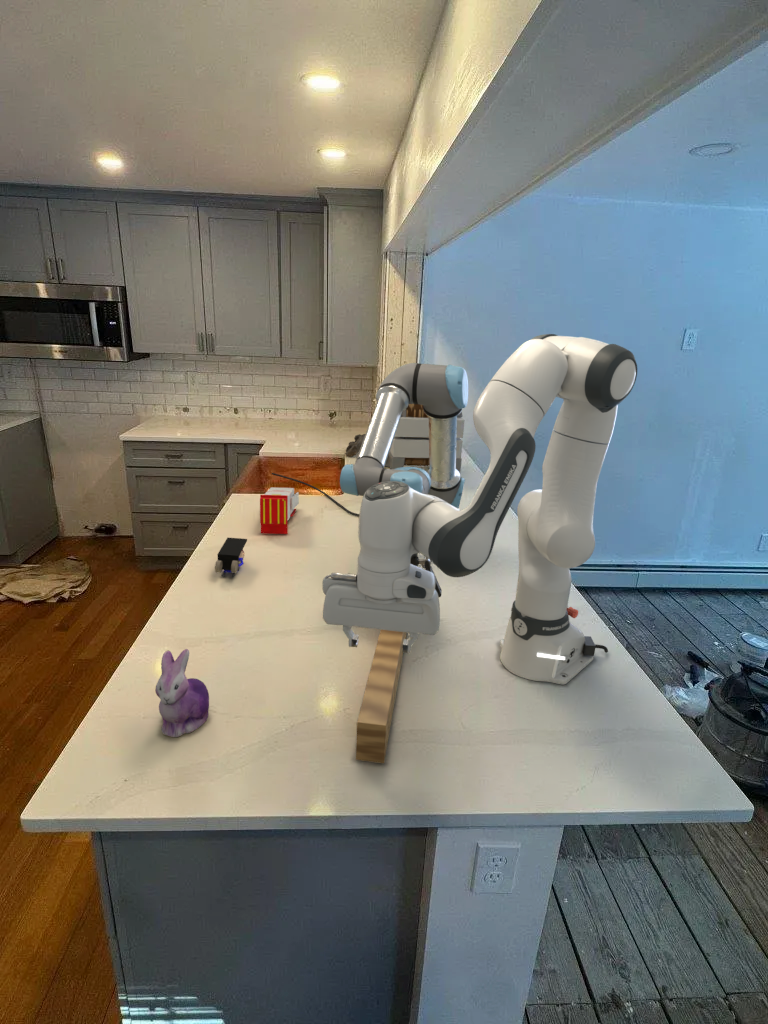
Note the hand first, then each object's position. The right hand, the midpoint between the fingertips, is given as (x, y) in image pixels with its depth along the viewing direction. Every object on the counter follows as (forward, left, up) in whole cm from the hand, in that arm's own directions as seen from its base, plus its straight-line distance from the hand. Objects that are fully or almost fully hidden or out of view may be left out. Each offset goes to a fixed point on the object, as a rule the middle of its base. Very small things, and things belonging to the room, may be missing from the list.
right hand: (379, 648), depth 100 cm
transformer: (-117, -137, -18) cm, 181 cm away
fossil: (-111, -184, -18) cm, 215 cm away
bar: (-13, -14, -18) cm, 26 cm away
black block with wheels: (-2, -79, -18) cm, 81 cm away
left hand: (-25, -28, -16) cm, 41 cm away
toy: (-31, -110, -18) cm, 116 cm away
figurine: (+29, -21, -18) cm, 40 cm away
